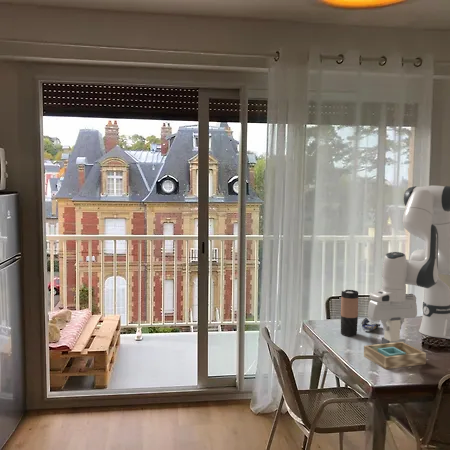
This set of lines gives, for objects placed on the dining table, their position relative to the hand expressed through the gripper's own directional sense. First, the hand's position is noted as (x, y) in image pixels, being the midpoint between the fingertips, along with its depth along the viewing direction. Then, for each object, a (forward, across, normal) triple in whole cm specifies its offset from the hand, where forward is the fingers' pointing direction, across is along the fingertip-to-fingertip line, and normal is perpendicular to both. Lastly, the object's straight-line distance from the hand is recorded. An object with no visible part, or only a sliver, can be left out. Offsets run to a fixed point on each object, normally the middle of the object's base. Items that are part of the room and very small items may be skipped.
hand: (392, 330), depth 180 cm
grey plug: (+12, -12, -14) cm, 23 cm away
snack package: (+13, -18, -40) cm, 45 cm away
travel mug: (+12, -3, -35) cm, 37 cm away
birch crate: (+12, -2, -1) cm, 13 cm away
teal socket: (+12, 0, 0) cm, 13 cm away
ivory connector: (+4, 0, 0) cm, 4 cm away
